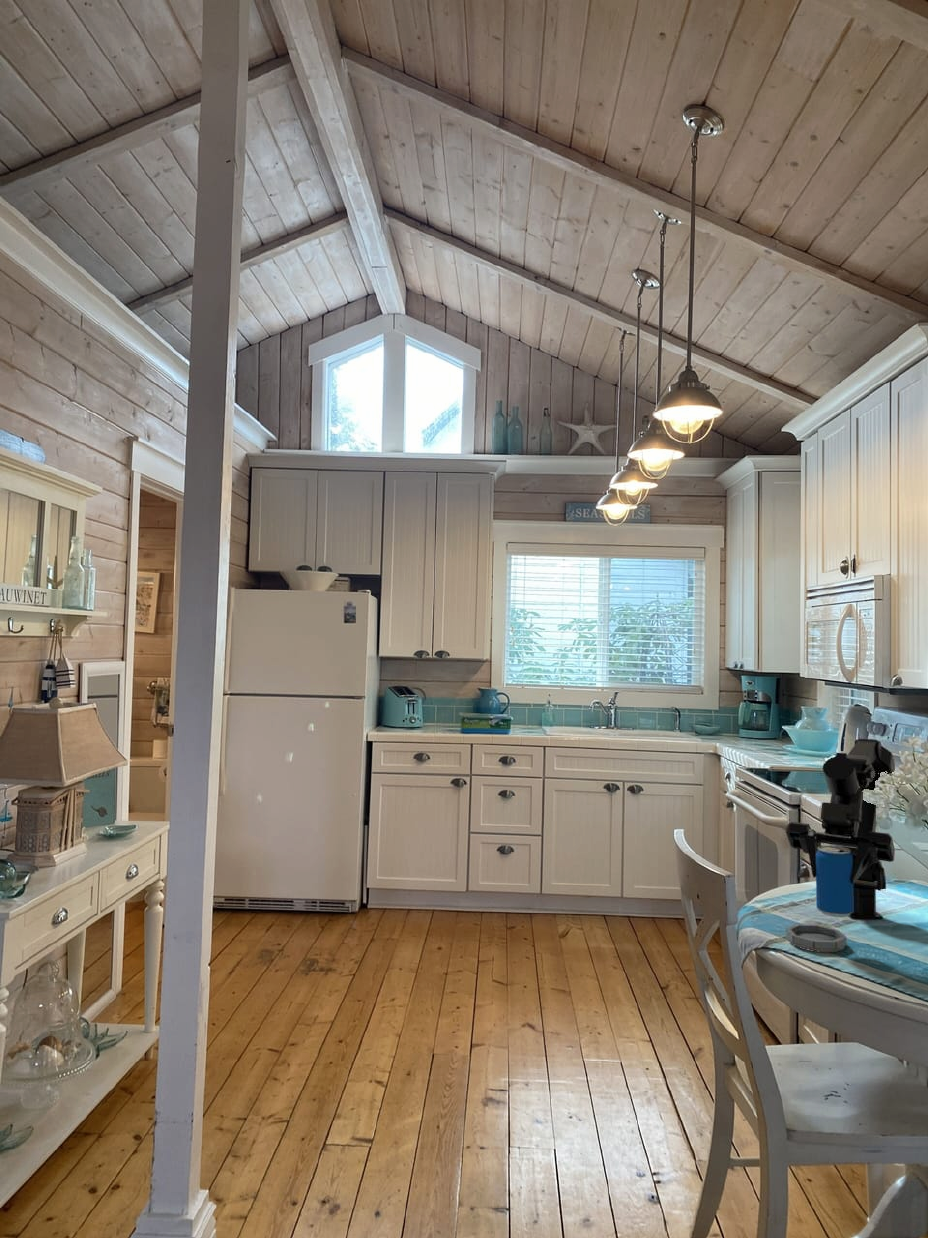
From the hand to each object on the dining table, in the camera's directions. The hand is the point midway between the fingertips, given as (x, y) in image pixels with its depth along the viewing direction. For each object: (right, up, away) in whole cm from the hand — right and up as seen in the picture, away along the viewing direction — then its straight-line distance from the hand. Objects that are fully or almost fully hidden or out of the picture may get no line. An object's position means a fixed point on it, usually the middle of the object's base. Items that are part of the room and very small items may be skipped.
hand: (832, 879), depth 158 cm
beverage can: (+1, -7, +1) cm, 7 cm away
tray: (-2, -13, +3) cm, 14 cm away
